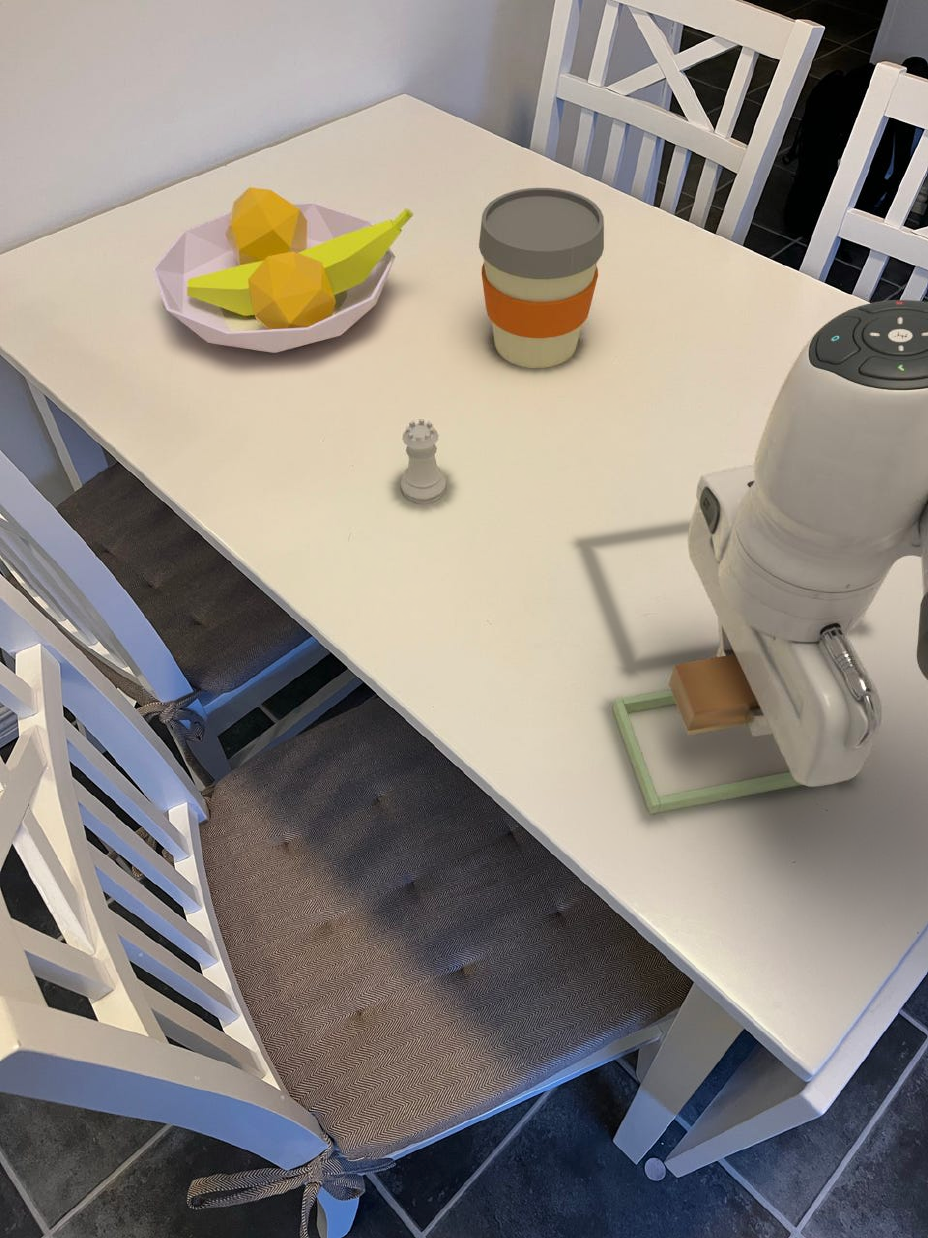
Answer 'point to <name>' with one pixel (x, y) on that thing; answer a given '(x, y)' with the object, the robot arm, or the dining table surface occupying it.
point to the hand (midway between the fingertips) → (744, 694)
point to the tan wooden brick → (711, 693)
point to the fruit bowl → (277, 271)
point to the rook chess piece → (422, 464)
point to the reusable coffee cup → (539, 272)
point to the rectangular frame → (689, 797)
